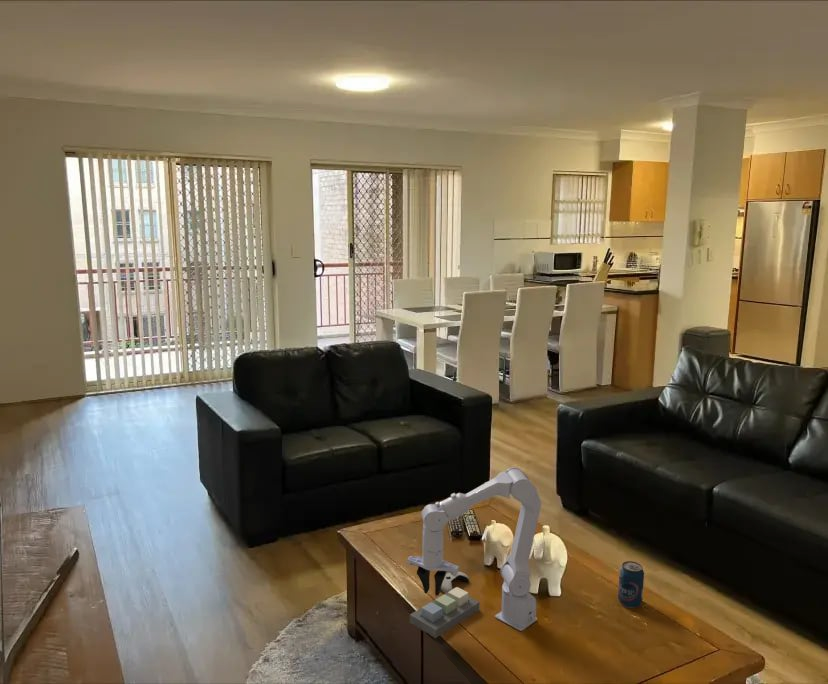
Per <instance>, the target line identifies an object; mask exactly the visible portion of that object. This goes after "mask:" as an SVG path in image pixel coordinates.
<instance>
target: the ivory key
mask: <svg viewBox="0 0 828 684" xmlns="http://www.w3.org/2000/svg"><path fill="white" fill-rule="evenodd" d="M452 589H453V590H451V591H449V592H448V596H449V597H450V598H452V599H454V600H456V606H458V607H461V606H462V605H464V604H466V603H467V602H468V596H469V592H468V591H466V590H464V589H462V588H460V587H458V586H456V587H454V588H452Z"/></svg>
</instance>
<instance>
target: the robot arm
mask: <svg viewBox="0 0 828 684" xmlns="http://www.w3.org/2000/svg"><path fill="white" fill-rule="evenodd" d="M537 489H538V488H537V487H536V485H534V484H533V482H532V481H531V480H530V478H529V477H528V476H527V475H526V473H525V472H524V471H523V470H522V469H520V468H519V467H510V468H507V469H506V470H504V471H501V472H498V474H497V475H496V476H495V477H493V478H492V479H490V480H488V481H487V482H484V483H483V484H481V485H479V486H478V487H475V488H474V489H472V490H470V491H469V492H467V493H462V492H458V493H455V492H453V493H451V494H450V496H449V497H447V498H446V499H443V500H441V501H436V502H435V503H429V504H427V505H425V506H424V508H423V509H422V510H421V512H420V517H421V519H422V521H423V524H422V545H421V547H422V554H421V555H422V556H413V555H409V557H407V560H406V566H409V567H411V566H414V567H417V570H416V575H417V577H418V578H419V580H420V582H421V585H422V587H423V592H424V594H427V593H428V592H429V591H430V587H431V586H430V576H431V575H430V574H431V571H435V574H434V575H433V576H434V577H433V578H434V587H435V590H434V595H435V596H436V597H438V596H439V595H440V593H441V591H442V590H441V586H442V582H443V580H444V577H445V575H446V573H447V572H448V573H452V574H453V575H457V574H458V571H459V565H455V564H453V563H450V562H448V561H447V560H444V531H443V530H444V528H445V527H446V524H448V523H449V522H451V521H452V520H455V519H457V518H458V517H461V516H463V515H465V514H467V513H468V512H469V511H470V509H471V507H472V506H474V505H476V504H478V503H481V502H483V501H485V500H486V501H487V500H488V499H490V498H493V497H495V496H500V497H503V498H506V499H511V497H510V495H511V496H512V497H513V499H514V500H516V501H518V502H520V503H521V505H520V510H519V514H518V519H517V524H516V527H515V533H514V538H513V542H512V545H511V550H510V554H508V555H507V556H506V559H505V561H504V563H503V564H502V565H501V567H500V575H501V577H502V578H503V584H502V586H501V611H500V612H498V613H496V614H495V615H494V618H495V619H498V620H499V621H501V622H502V623H505V624H506V625H509V626H510V627H512V628H515V629H516V630H518V631H520V632H522V631H523V630H525V629H527V628H528V627H530V625H532V624H533V623H535V622H536V621H538V618H537V616H536V615H537V599H536V597H535V596H534V595H532V594H531V593H530V592H529V591H530V590H531V584H532V583H531V580H530V575H531V570H530V564H529V560H530V558H531V557H530V556H531V553H532V552H531V551H532V548H533V543H534V538H535V535H536V529H537V525H538V521H539V517H540V512H541V508H542V501H541V498H540V496H539V492H538V491H537Z"/></svg>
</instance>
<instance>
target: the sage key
mask: <svg viewBox="0 0 828 684" xmlns="http://www.w3.org/2000/svg"><path fill="white" fill-rule="evenodd" d="M434 600H435V604H436V605H438V606H440V607H441V608H443V614H445V615H448V614H449V613H451V612H453V611H454V610H456V600H454V599H452V598H450V597H449V596H447V595H445V593H444V594H442V595H440V596H439V597H437V598H435V599H434Z"/></svg>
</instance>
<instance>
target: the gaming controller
mask: <svg viewBox="0 0 828 684" xmlns="http://www.w3.org/2000/svg"><path fill="white" fill-rule="evenodd" d="M455 581H458V582H460V583H463V584H469V582H470V577H469V576H468V575H467V574H466V573H464V572H462V571H459V570H458V574H457V575H453V574H452V573H448V572H447V573H446V575H445V577H444V580H443V582H442V586H441V590H440V591H442V592H443V593H444V594H446V593H448V592H449V591H451V590H453V589H454V588H453V585H452V584H453V583H454V582H455Z"/></svg>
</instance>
